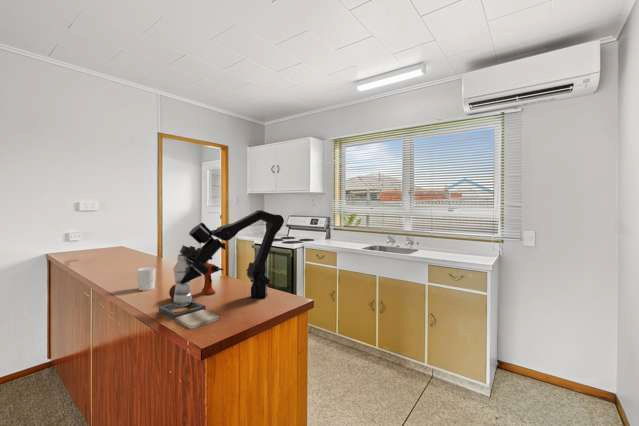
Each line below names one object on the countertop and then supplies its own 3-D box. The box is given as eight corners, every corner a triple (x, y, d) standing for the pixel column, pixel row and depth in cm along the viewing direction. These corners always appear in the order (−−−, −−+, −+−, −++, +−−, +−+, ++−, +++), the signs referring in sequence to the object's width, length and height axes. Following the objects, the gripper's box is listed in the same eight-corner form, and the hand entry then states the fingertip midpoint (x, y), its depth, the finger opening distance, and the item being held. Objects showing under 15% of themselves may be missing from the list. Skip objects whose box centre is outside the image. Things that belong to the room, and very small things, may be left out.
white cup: (158, 288, 148) (158, 268, 148) (142, 292, 141) (142, 271, 141) (150, 285, 152) (150, 266, 152) (134, 289, 146) (134, 269, 145)
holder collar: (189, 304, 126) (189, 299, 126) (205, 310, 118) (205, 305, 118) (158, 312, 116) (158, 306, 116) (174, 320, 108) (174, 314, 108)
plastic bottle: (180, 309, 113) (180, 257, 112) (169, 306, 116) (169, 255, 115) (195, 304, 118) (195, 254, 117) (185, 301, 122) (185, 252, 121)
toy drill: (219, 298, 130) (217, 263, 131) (199, 294, 143) (198, 262, 144) (229, 295, 133) (227, 262, 134) (209, 292, 146) (207, 261, 147)
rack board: (203, 312, 116) (203, 309, 116) (219, 319, 109) (219, 316, 109) (175, 320, 108) (175, 317, 108) (191, 329, 101) (191, 325, 101)
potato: (181, 295, 137) (181, 278, 137) (195, 301, 130) (195, 282, 130) (164, 299, 131) (164, 281, 131) (178, 305, 124) (178, 286, 124)
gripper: (187, 235, 126) (157, 264, 120) (199, 240, 111) (167, 273, 105) (206, 252, 131) (179, 281, 125) (220, 259, 116) (191, 292, 110)
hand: (178, 281), depth 116 cm, fingers closed on plastic bottle, 6 cm apart
